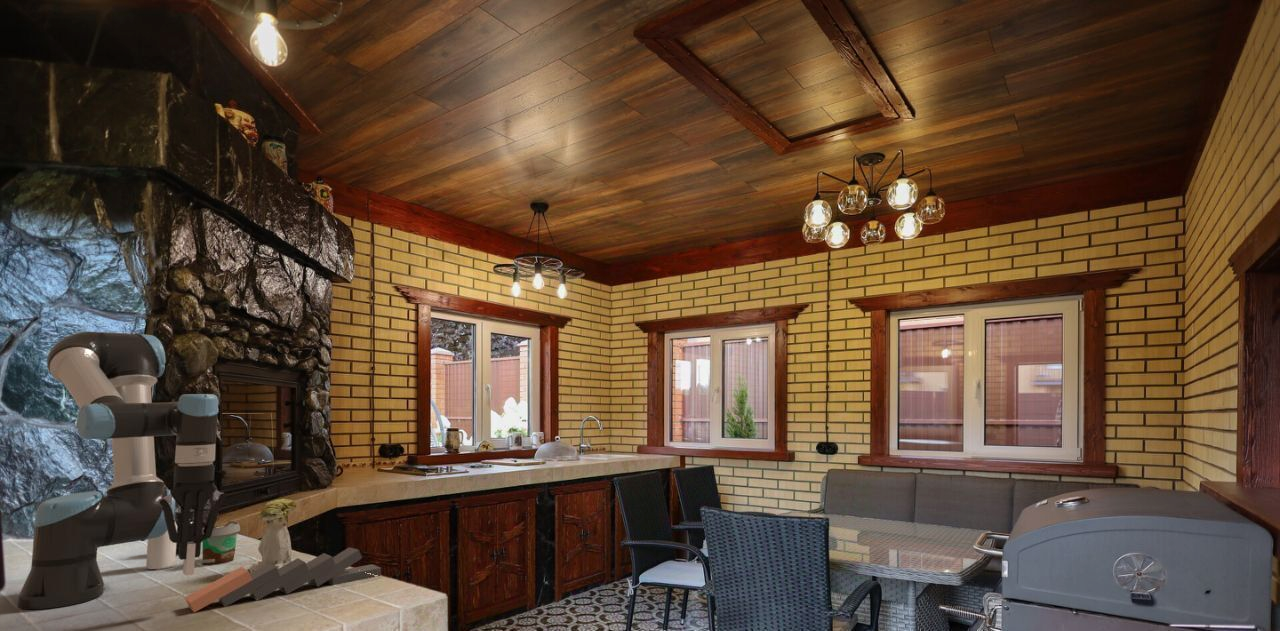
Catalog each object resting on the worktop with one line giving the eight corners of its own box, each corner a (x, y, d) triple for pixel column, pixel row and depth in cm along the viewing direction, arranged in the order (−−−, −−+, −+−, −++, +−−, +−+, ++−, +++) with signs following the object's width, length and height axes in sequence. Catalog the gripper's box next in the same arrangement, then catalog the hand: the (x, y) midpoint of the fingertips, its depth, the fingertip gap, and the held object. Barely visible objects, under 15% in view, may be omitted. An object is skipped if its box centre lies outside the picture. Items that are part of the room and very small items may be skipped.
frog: (309, 569, 185) (312, 499, 186) (255, 578, 176) (259, 504, 178) (297, 560, 194) (300, 494, 196) (245, 568, 185) (249, 499, 187)
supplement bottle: (171, 551, 205) (173, 509, 206) (198, 549, 208) (200, 508, 209) (166, 556, 199) (169, 513, 200) (194, 554, 202) (197, 511, 203)
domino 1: (189, 602, 149) (248, 570, 157) (184, 597, 153) (241, 566, 161) (194, 612, 149) (252, 580, 158) (188, 606, 153) (245, 575, 161)
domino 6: (333, 577, 170) (380, 567, 178) (325, 572, 174) (372, 564, 182) (332, 587, 170) (380, 577, 178) (324, 582, 174) (372, 573, 182)
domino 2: (220, 597, 153) (276, 566, 161) (214, 592, 157) (269, 562, 165) (224, 607, 153) (280, 576, 162) (218, 601, 157) (273, 571, 165)
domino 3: (252, 591, 157) (305, 562, 165) (246, 586, 161) (297, 558, 169) (256, 600, 158) (308, 570, 166) (250, 595, 162) (301, 566, 170)
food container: (221, 567, 187) (223, 529, 188) (198, 567, 187) (201, 529, 188) (248, 555, 200) (249, 520, 200) (226, 555, 200) (228, 520, 201)
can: (180, 564, 190) (183, 519, 191) (162, 570, 184) (165, 524, 185) (158, 563, 191) (161, 519, 192) (139, 570, 184) (142, 523, 186)
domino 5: (314, 577, 167) (358, 549, 176) (304, 574, 170) (349, 547, 179) (317, 586, 167) (362, 558, 176) (308, 583, 171) (352, 555, 180)
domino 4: (283, 585, 162) (332, 556, 170) (275, 581, 166) (323, 553, 174) (287, 594, 162) (335, 565, 171) (279, 590, 166) (327, 561, 174)
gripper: (163, 467, 147) (155, 583, 144) (232, 462, 156) (226, 571, 153) (156, 465, 152) (149, 576, 150) (223, 460, 161) (217, 565, 159)
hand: (188, 573), depth 151 cm, fingers closed
